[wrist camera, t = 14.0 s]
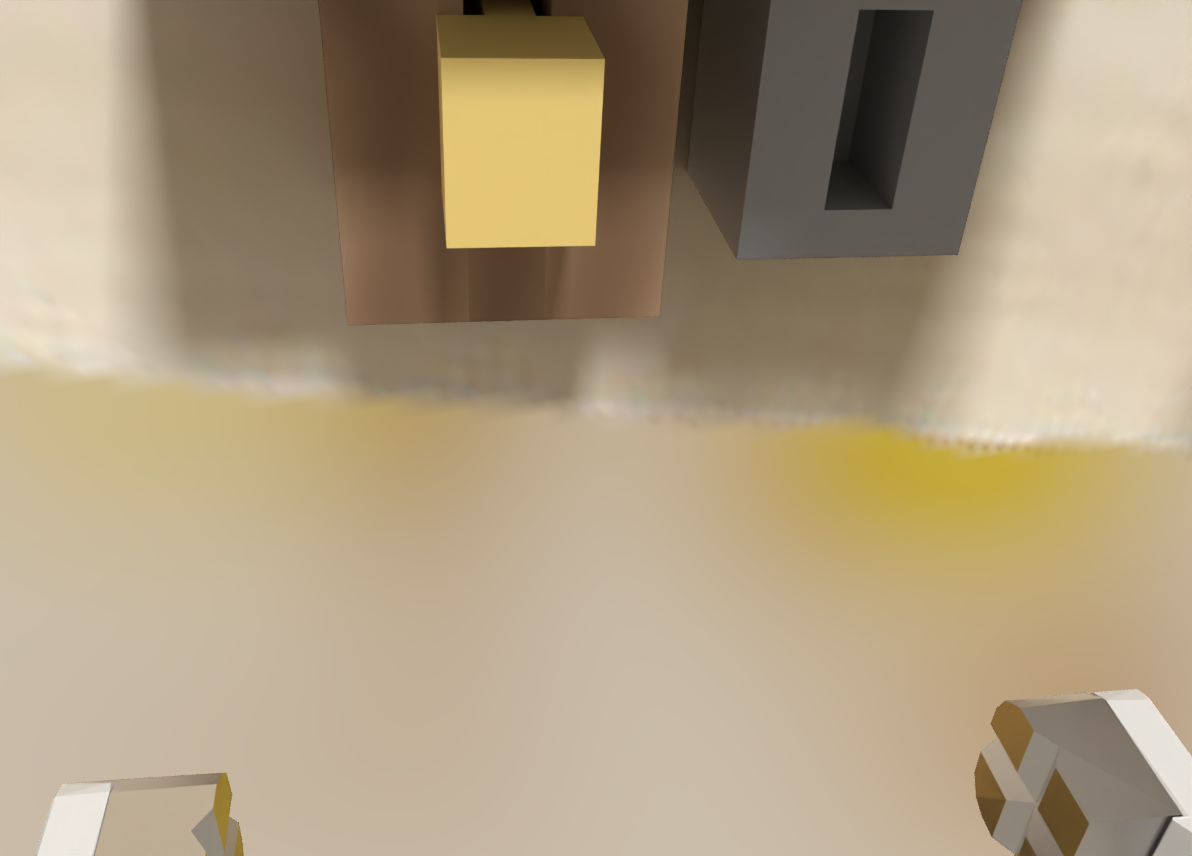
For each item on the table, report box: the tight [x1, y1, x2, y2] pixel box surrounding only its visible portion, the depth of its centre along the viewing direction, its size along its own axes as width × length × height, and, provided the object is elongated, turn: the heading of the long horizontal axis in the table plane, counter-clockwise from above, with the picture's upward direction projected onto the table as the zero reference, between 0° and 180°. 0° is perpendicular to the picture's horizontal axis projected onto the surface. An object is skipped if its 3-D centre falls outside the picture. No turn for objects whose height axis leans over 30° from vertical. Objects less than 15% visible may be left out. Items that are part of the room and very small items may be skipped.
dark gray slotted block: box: [687, 0, 1022, 260], centre depth 39 cm, size 8×10×8 cm
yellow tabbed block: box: [436, 0, 605, 248], centre depth 32 cm, size 4×5×8 cm
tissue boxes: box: [318, 0, 688, 325], centre depth 32 cm, size 22×16×18 cm
